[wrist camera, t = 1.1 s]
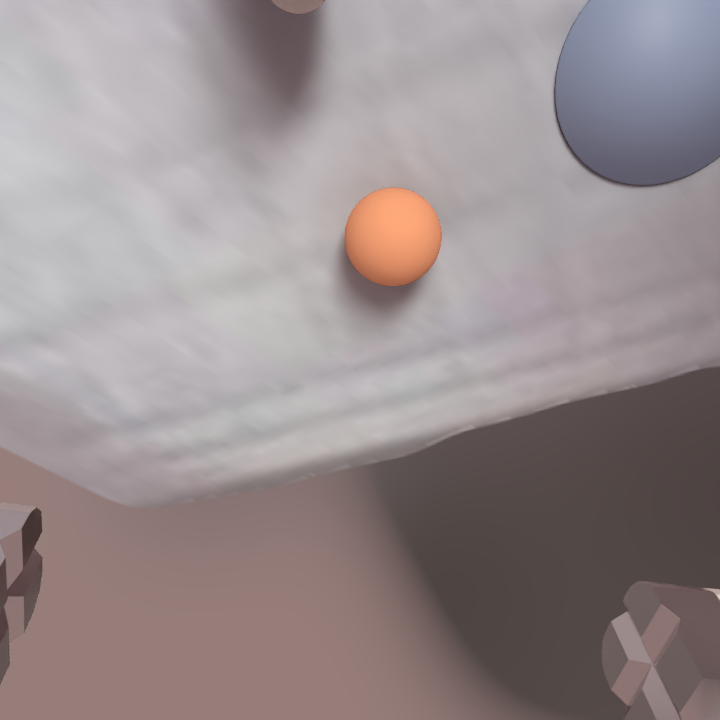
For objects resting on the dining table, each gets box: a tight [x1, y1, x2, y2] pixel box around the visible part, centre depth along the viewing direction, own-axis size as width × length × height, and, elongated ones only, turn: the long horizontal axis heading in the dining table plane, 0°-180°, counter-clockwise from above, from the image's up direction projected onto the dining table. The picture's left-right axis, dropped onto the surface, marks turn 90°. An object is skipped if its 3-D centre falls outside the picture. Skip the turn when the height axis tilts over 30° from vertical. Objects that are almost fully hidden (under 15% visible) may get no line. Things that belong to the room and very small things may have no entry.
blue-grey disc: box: [555, 0, 720, 185], centre depth 37 cm, size 12×12×1 cm
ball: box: [345, 188, 442, 286], centre depth 39 cm, size 6×6×6 cm
